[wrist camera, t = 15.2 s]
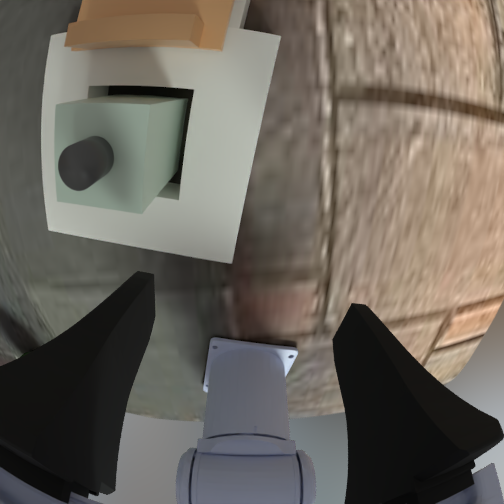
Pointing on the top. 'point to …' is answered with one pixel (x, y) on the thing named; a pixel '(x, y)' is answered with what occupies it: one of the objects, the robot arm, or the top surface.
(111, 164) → the plug
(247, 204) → the top surface
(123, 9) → the panel
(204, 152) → the socket housing
